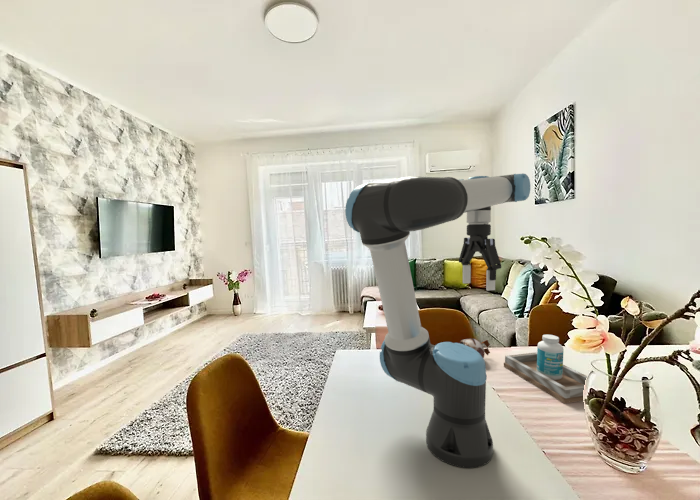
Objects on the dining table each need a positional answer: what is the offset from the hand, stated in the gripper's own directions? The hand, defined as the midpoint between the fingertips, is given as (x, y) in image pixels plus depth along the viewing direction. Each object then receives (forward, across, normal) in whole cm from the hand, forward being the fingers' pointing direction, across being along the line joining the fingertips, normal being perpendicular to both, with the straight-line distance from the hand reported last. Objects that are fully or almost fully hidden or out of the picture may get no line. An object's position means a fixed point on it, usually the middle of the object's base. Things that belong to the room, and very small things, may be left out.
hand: (477, 286), depth 110 cm
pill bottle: (+30, -8, -22) cm, 38 cm away
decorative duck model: (+32, +14, -6) cm, 36 cm away
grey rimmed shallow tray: (+32, -8, -22) cm, 39 cm away
